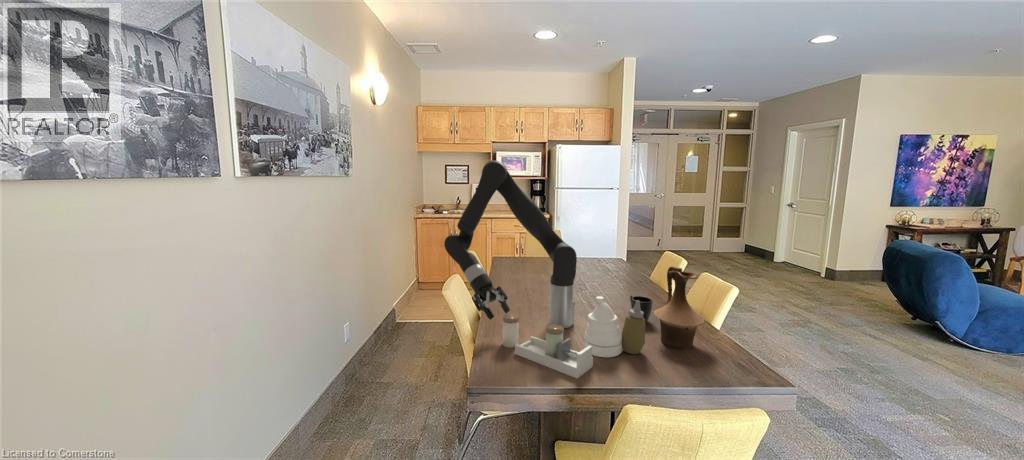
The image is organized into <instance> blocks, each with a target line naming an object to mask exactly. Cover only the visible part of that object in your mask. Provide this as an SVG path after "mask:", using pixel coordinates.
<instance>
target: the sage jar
mask: <svg viewBox="0 0 1024 460" xmlns="http://www.w3.org/2000/svg"><path fill="white" fill-rule="evenodd" d="M564 331H565V328H563V327H562V326H560V325H556V324H551V325H550V324H547V325H545V341H546V345H545V355H548V356H551V357H553V358H556V354H557V345H558V344H560V343H561V342H563V341H564Z"/></svg>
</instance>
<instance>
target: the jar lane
mask: <svg viewBox="0 0 1024 460" xmlns="http://www.w3.org/2000/svg"><path fill="white" fill-rule="evenodd" d="M529 337H530V339H529V340H527V341H525V342H523V343H521V344H519V343H518V344H516V345H515V347H514V354H515V355H516V356H520V357H521V358H525V359H526V360H530V361H532V362H535V363H537V364H540V365H542V366H545V367H547V368H550V369H552V370H554V371H558V372H560V373H562V374H565V375H568V376H570V377H572V378H575V379H579V378H580V377H582V376H583V375H584V374H586V372H588V371H590V369H592V368H594V367H593V366H594V357H593V355H592V346H590V345H589V346H588V347H586V348H585V349H584V348H583V349H582V350H580V351H577V350H574V349H571V348H570V353H572V354H575V355H576V357H575V358H573V357H570V356H569V357H568V358H567V359H565V360H564V361H561V360H559V359H556V358H553V357H551V356H548V355H545V345H546V339H541V338H539V337H536V336H532V335H531V336H529Z"/></svg>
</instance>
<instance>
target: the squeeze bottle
mask: <svg viewBox="0 0 1024 460" xmlns="http://www.w3.org/2000/svg"><path fill="white" fill-rule="evenodd" d="M643 315H644V313H643V311H641V308H640V301H636V303H635V305H634V308H633V309H629V312H628V314H627V315H626V316H625V319H624V323H623V326H622V329H621V334H622V351H623V352H625V353H628V354H630V355H639V354H640V353H641V351H642V349H643V348H644V345H645V344H646V323H645V321H646V320H645V319H644V318H643Z"/></svg>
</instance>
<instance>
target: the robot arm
mask: <svg viewBox="0 0 1024 460" xmlns="http://www.w3.org/2000/svg"><path fill="white" fill-rule="evenodd" d="M496 191H497V192H498V193H499V194H500V195H501V196H502V198H503V199H504V200H505V202H506V203H507V205H508V207H509V209H510V210H511V213H512V214H513V215H514V217H515V218H516V219H517V220H518V223H520V224H521V225H522V226H523V228H524V229H525V230H526V231H527V232H528V233H529V234H530V235H531V236H532V237H533V238H535V239H536V240H537V241H538V243H539V244H540V245H541V246H542V248H543V249H544V251H545V252H546V253H547V255H548V256H549V258H550V259H551V261H552V264H553V265H552V275H550V287H549V288H550V290H549V291H550V292H549V294H550V295H549V318H548V319H549V321H548V323H549V324H548V325H551V324H556V325H560V326H562V327H563V328H564V329H568V328H571V327H572V326H574V324H575V310H576V309H575V308H576V307H575V305H576V304H575V303H576V302H575V301H574V284H575V283H574V281H575V279H576V273H577V272H576V271H577V263H578V261H577V253H576V250H575V249H574V248H573V247H572V246H571V245H569V244H568V243H566V242H565V241H564V240H563V239H562V238H561V237H560V236H559V235H558V234H557V233H556V232H555V231H554V230H553V228H552V225H550V222H549V221H548V219H547V217H546V216H545V214H544V213H543V211H542V210H541V208H539V206H538V205H537V204H536V203H535V202H534V200H533V199H532V198H531V197H530V196H529V195H528V194H527V193H526V192H525V191H524V190H523V189H522V188H521V187H520V186H519V185H518V184H517V183H516V181H515V180H514V179H513V177H512V175H511V173H509V171H508V170H507V168H506V165H505V164H504V163H502V162H501V161H499V160H497V159H496V160H494V159H493V160H489V161H487V162H486V163H485V164H484V166H483V168H482V169H481V175H480V180H479V182H478V185H477V187H476V189H475V192H474V194H473V195H472V197H471V199H470V201H469V203H468V204H467V205H466V207H465V209H464V211H463V212H462V215H461V216H460V218H459V220H458V222H457V225H456V227H457V229H458V230H459V234H458V235H457V234H455V235H454V234H452V235H451V234H450V235H448V236H447V237H446V238H445V240H444V243H443V244H444V245H443V246H444V249H445V251H446V252H447V254H448V256H450V257H451V258H452V259H453V261H454V262H456V264H458V266H459V267H460V269H461V271H462V272H463V275H464V277H465V278H466V279H465V280H467V282H468V284H469V286H470V287H471V289H472V291H473V292H474V294H473V295H472V297H471V300H472V302H473V304H474V305H475V308H476V309H477V311H478V312H481V311H482V312H484V314H485V315H486V317H487V319H488V320H493V319H494V318H495V314H494V313H493V312H492V309H491V308H490V307H489V303H493V302H494V303H497V304H499V305H500V307H501V309H502V310H503V312H504V313H505V314H509V312H510V307H509V305H508V303H507V300H508V299H509V298H508V296H507V294H506V293H505V291H504V290H503V289H502V287H501V286H500V285H498V286H497V287H496V288H495V287H494V286H493V282H492V281H493V280H491V278H490V277H489V275H488V274H487V272H486V270H485V269H484V267H483V266H482V265H481V263H480V262H479V260H478V258H477V257H476V256H475V255H474V254H473V252H470V251H468V250H469V248H470V247H471V245H472V241H473V238H474V235H475V234H474V233H475V230H476V229H477V227H478V225H479V223H480V221H481V219H482V216H483V215H484V213H485V211H486V208H487V207H488V204H489V202H490V201H491V199H492V197H493V196H494V194H495V193H496Z"/></svg>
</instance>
